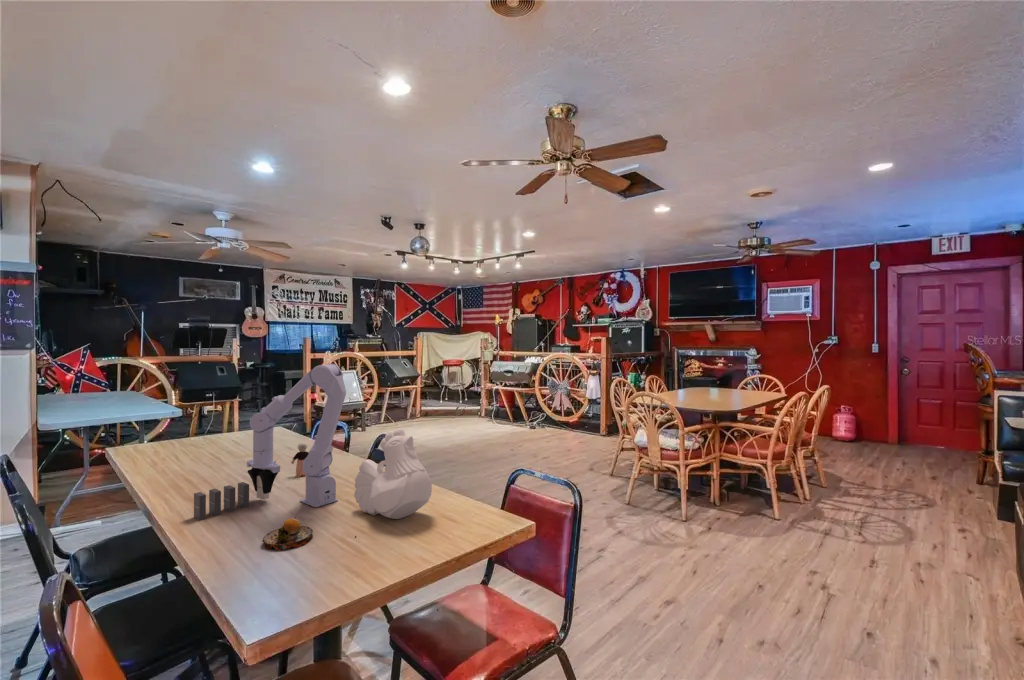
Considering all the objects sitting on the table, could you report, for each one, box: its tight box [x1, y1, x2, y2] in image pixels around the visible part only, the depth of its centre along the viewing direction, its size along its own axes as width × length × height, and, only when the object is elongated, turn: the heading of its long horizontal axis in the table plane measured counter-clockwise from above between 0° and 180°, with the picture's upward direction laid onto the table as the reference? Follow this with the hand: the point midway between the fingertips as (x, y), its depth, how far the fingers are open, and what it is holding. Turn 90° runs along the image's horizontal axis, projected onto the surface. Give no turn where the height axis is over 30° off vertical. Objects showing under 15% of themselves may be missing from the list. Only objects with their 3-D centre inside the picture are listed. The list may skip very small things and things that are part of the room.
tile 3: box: [208, 488, 222, 517], centre depth 138 cm, size 4×2×7 cm, turn 54°
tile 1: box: [237, 481, 250, 509], centre depth 145 cm, size 4×2×7 cm, turn 54°
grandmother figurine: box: [290, 442, 309, 478], centre depth 177 cm, size 8×4×13 cm, turn 143°
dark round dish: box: [261, 514, 314, 552], centre depth 121 cm, size 12×12×8 cm
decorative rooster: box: [353, 427, 433, 520], centre depth 141 cm, size 25×16×25 cm
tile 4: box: [193, 491, 207, 521], centre depth 135 cm, size 4×2×7 cm, turn 54°
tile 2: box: [223, 485, 236, 513], centre depth 142 cm, size 4×2×7 cm, turn 54°
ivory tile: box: [256, 475, 270, 500], centre depth 150 cm, size 4×2×7 cm, turn 61°
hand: (263, 491), depth 150 cm, fingers closed on ivory tile, 4 cm apart
